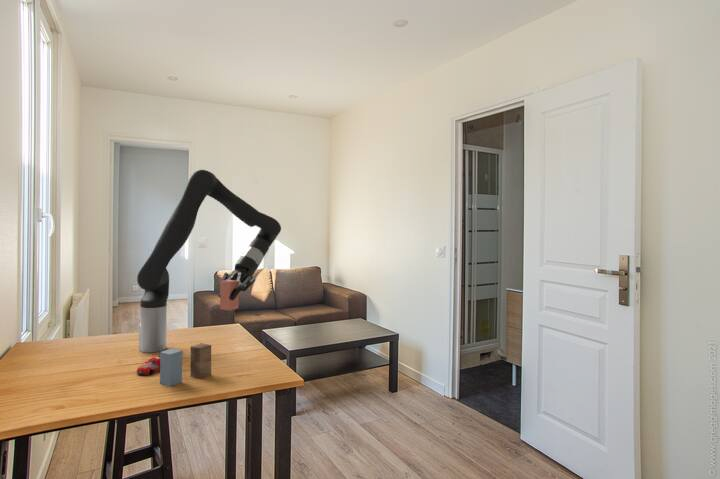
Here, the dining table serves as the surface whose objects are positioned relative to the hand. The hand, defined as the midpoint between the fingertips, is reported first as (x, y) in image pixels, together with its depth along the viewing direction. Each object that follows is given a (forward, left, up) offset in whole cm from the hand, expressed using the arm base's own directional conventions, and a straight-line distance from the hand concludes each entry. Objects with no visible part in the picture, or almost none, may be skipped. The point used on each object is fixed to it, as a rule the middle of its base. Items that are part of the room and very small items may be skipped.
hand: (225, 297), depth 149 cm
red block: (0, +2, -4) cm, 5 cm away
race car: (-17, -15, -24) cm, 34 cm away
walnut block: (+1, -12, -24) cm, 27 cm away
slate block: (-2, -21, -24) cm, 32 cm away
